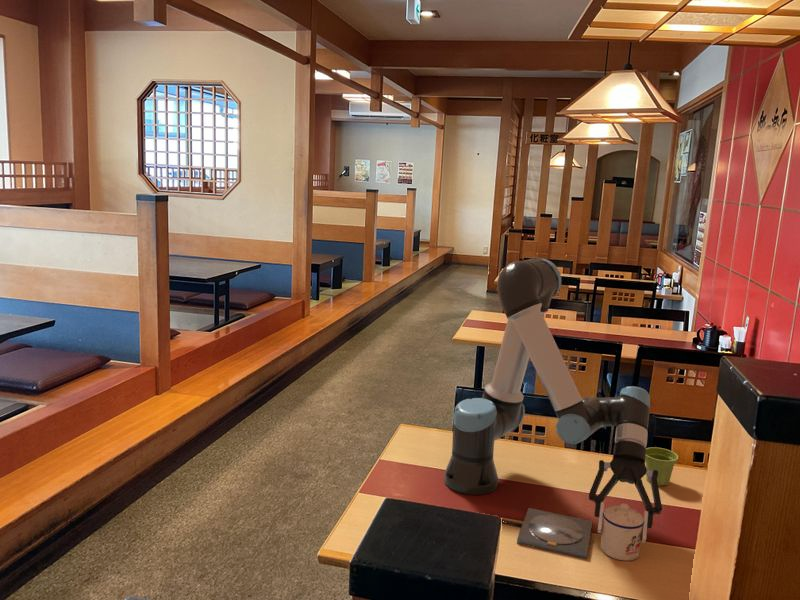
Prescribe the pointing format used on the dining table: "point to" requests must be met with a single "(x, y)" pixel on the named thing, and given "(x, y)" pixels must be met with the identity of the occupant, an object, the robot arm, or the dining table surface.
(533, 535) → the cup warmer plate
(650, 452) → the plant pot
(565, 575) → the dining table surface
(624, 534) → the teacup with lid
